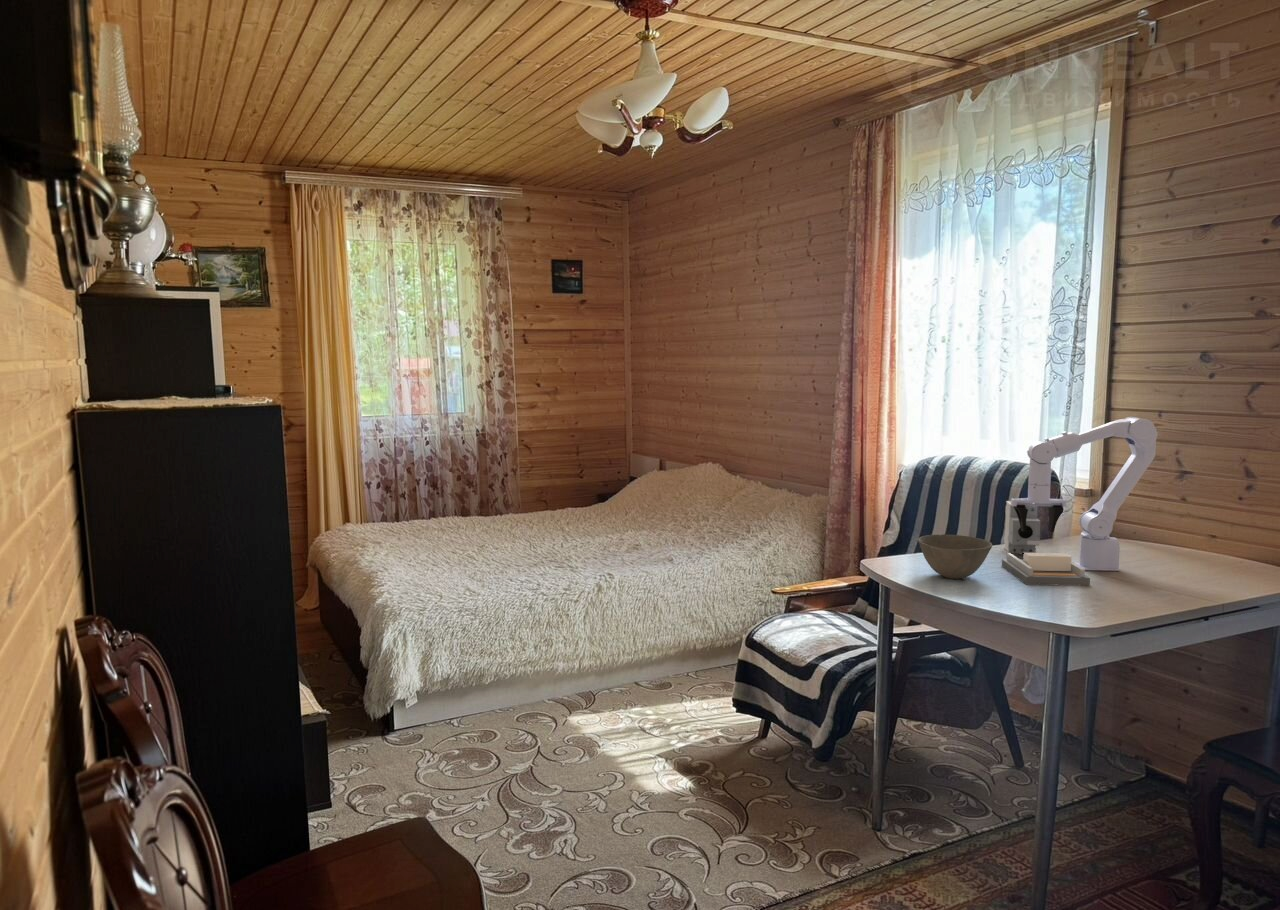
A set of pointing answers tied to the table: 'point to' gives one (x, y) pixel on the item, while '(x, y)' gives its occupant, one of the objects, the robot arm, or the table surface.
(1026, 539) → the circuit breaker
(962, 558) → the bowl
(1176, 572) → the table surface
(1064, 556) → the breaker toggle
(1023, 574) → the grey shallow rectangular tray
